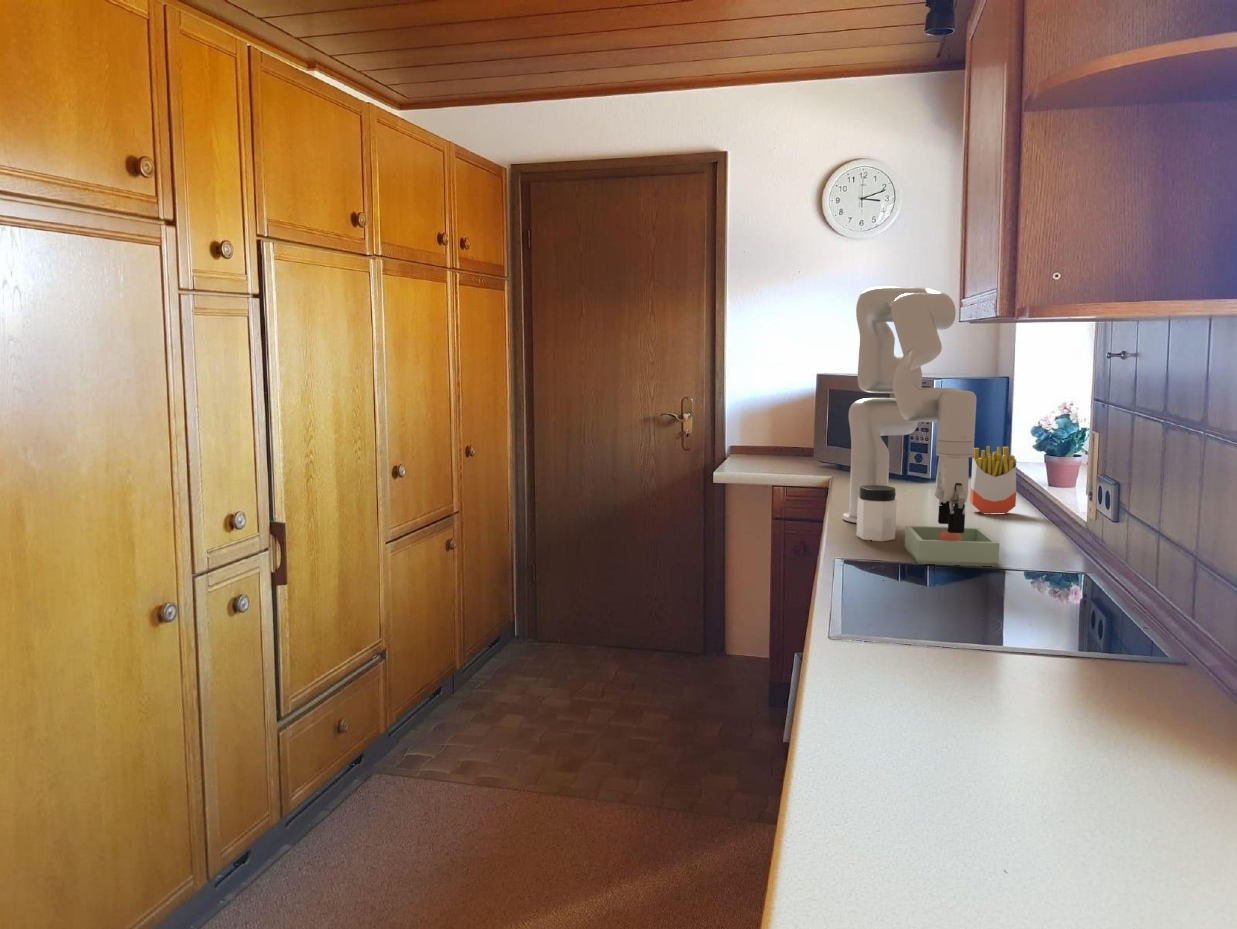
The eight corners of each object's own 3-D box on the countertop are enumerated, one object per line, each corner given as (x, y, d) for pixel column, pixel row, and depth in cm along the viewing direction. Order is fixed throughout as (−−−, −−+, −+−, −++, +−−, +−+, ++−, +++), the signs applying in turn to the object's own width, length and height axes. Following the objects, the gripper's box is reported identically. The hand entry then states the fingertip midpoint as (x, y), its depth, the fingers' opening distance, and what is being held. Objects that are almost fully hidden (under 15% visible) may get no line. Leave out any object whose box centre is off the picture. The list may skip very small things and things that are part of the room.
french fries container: (1015, 515, 249) (1019, 448, 247) (972, 513, 251) (976, 447, 249) (1011, 512, 254) (1015, 446, 251) (969, 510, 256) (973, 445, 253)
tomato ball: (934, 550, 203) (936, 527, 202) (958, 550, 202) (959, 528, 202) (939, 555, 198) (940, 532, 198) (964, 556, 198) (965, 533, 197)
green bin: (904, 547, 209) (905, 525, 209) (978, 549, 207) (979, 527, 207) (917, 564, 194) (918, 540, 193) (997, 567, 192) (999, 543, 191)
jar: (876, 543, 214) (878, 491, 212) (849, 536, 221) (851, 486, 219) (902, 538, 219) (904, 488, 217) (875, 532, 226) (877, 483, 224)
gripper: (928, 444, 206) (924, 520, 209) (945, 453, 189) (941, 535, 192) (963, 444, 205) (959, 521, 208) (983, 454, 188) (979, 537, 191)
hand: (950, 528), depth 200 cm, fingers open, 9 cm apart
